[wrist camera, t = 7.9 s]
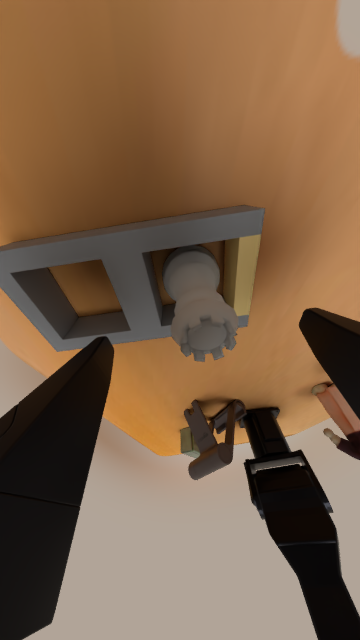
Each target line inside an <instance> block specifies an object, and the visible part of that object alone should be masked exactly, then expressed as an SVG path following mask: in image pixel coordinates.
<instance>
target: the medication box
mask: <svg viewBox="0 0 360 640" xmlns="http://www.w3.org/2000/svg"><path fill="white" fill-rule="evenodd" d="M180 433H181V453H183V454H186V455H188V456H191V457H194V458H196V459H197V458H198V457H199V456H200V451H199V449H198V446H197V444H196V442H195V439H194V437H193V434H192V432H191V429H190V427H187V428H184V429H181V430H180Z"/></svg>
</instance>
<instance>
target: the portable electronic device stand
mask: <svg viewBox="0 0 360 640" xmlns="http://www.w3.org/2000/svg"><path fill="white" fill-rule="evenodd" d="M191 404H192V406H193V409H194V413H193V414H192V415H191V414H190V412H189V410H188V409H186V410H185V411H184V415H185V417H186V420H187V422H188V425H189V427H190V429H191V432H192V434H193V437H194V439H195V442H196V444H197V446H198V449H199V451H200V456H199V457H198V458H197V459H195V460H194V461H192V462H191V463H190V464H189V469H188V470H189V474H190V476H191V478H192V479H194V480H198V479H200V478H202V477H204V476H206V475H208V474H210V473H212V472H214V471H216V470H218V469H220V468H222V467H224V466H226V465H228V464H230V463H231V462H232V459H233V445H234V429H235V422H236V421H238V420H239V419H240V418H242V417H243V416H245V415H246V414H247V413H246V409H245V405H244V404H243V402H242V401H240V400H235V401H233V402H232V403H231V404H230V405H229V406H228V407H227V408H226V409H225V410H223V411H222V412H221V413H220V414H219V415H218V416H216V417H215V418H213V419H212V420H211V422H210V423H209V425H208V423H207V421H206V418H205V416H204V414H203V412H202V410H201V408H200V406H199V404H198V402H197V401H196V400H194V401H193V402H192V403H191ZM214 428H215V429H216V431H217V434H220V433H221V432H222V431H224V430H225V429H226V434H225V443H223V442H222V443H219V444H218V443H217V441H216V439H215V437H214V435H213V431H214Z"/></svg>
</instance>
